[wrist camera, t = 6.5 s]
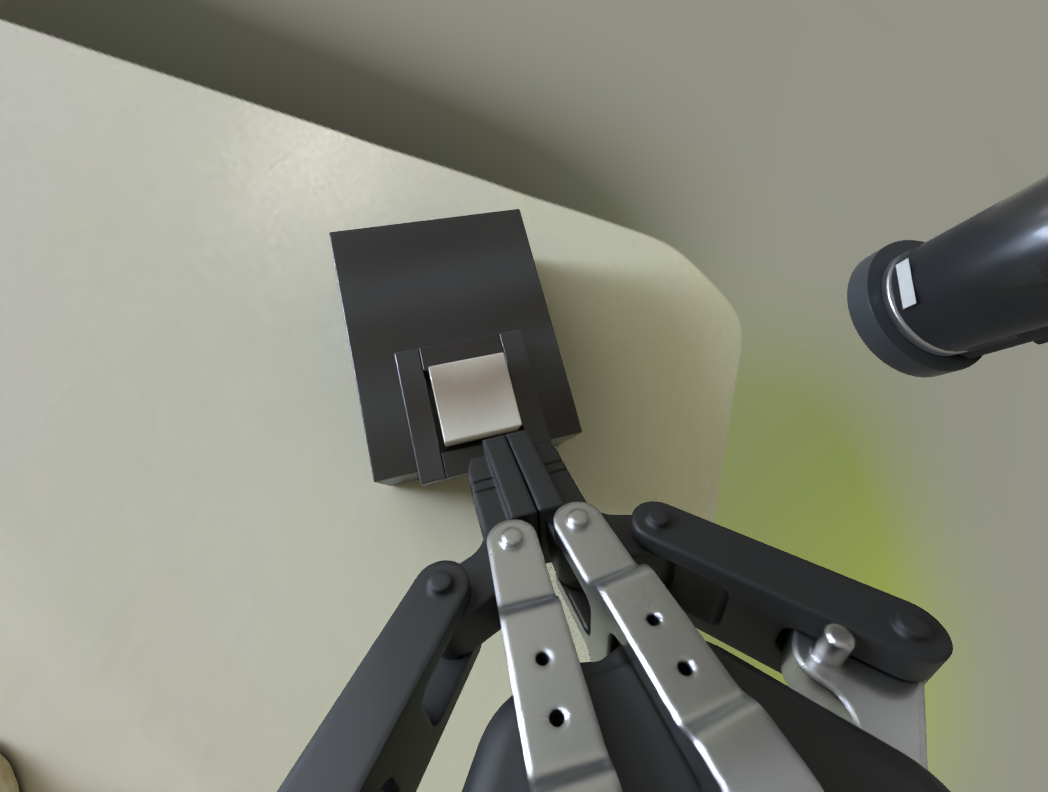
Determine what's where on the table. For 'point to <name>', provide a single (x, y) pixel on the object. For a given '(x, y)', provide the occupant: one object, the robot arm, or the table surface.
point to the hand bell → (7, 777)
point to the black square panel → (445, 334)
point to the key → (474, 399)
